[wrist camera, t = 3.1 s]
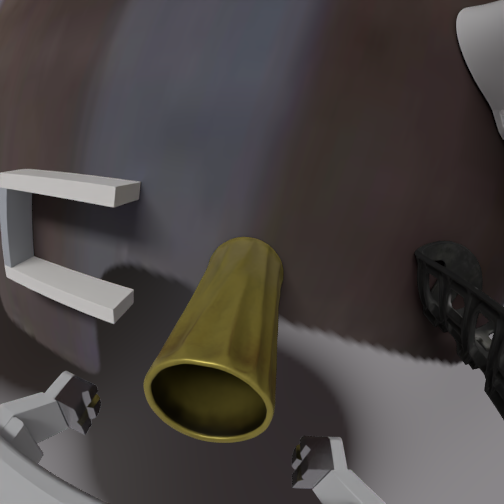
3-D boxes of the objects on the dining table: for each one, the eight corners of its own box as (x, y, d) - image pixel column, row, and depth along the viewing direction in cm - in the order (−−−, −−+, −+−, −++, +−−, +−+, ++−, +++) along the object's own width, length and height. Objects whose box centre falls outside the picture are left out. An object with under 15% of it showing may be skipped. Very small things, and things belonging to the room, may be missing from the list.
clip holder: (140, 182, 21) (115, 186, 17) (133, 303, 25) (114, 324, 21) (26, 168, 22) (0, 172, 18) (28, 264, 25) (6, 276, 21)
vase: (238, 220, 22) (174, 315, 8) (298, 267, 22) (321, 406, 9) (195, 276, 23) (114, 398, 10) (252, 317, 24) (227, 461, 11)
